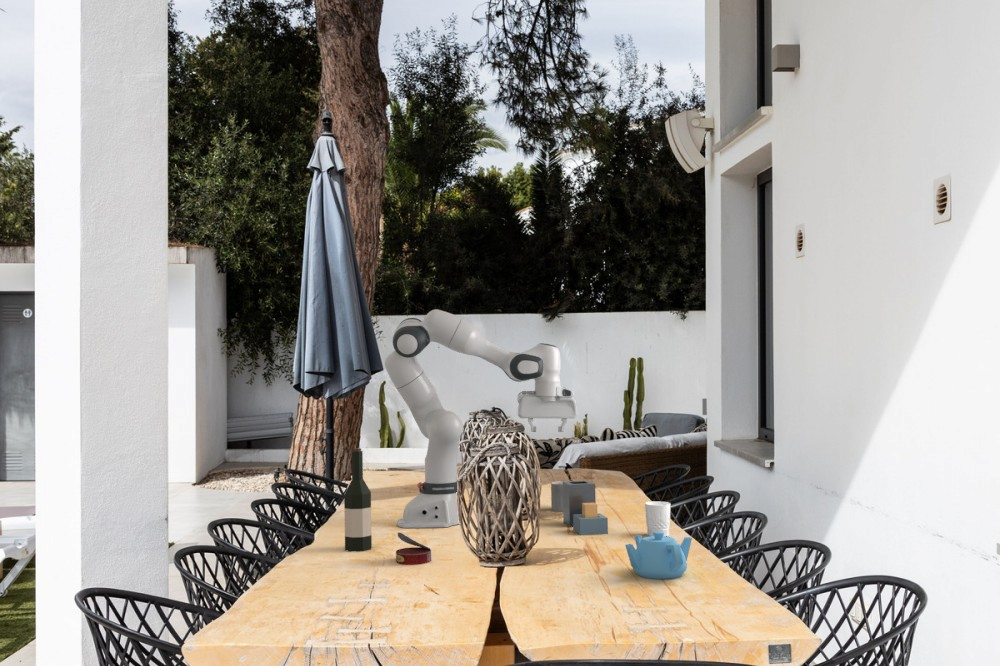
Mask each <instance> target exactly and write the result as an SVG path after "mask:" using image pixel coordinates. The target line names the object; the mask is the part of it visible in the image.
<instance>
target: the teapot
mask: <svg viewBox="0 0 1000 666" xmlns="http://www.w3.org/2000/svg"><path fill="white" fill-rule="evenodd" d="M653 535H654V536H645V537H643V536H642V535H634V541H635V545H636V548H635V546H634V544H632V543H627V544H625V549H626V552H627V556H628V558H629V559H628V560H629V562H630V566H631V568H632V570H633V571H634V572H635V574H636V575H637V576H639V577H642V578H645V579H652V580H653V579H654V580H669V579H676V578H680V577H682V575H683V574H684V573H685V572H686V571H687V568H688V566H687V564H688V563H687V561H688V557H689V553H690V548H691V544H692V540H693V538H692V537H690V536H686V537H685V536H684V538H683V540H682V542H681V544H679V543H678V542H677V540H676V539H675V538H673V537H672V536H667V537H666V536H664V532H653Z"/></svg>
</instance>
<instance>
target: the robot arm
mask: <svg viewBox="0 0 1000 666" xmlns="http://www.w3.org/2000/svg"><path fill="white" fill-rule="evenodd" d="M432 342H433V343H436V344H439V345H442V346H443V347H445V348H447V349H450V350H452V351H454V352H457V353H461V354H463V355H468V356H474V357H478V358H480V359H482V360H485V361H486V362H488V363H490V364H492V365H494V366H496V367H497V368H499V369H501V370H502V371H503V372H504V374H505V375H506V376H507V377H508V379H510V380H512V381H514V382H518V383H519V382H520V383H522V382H526V381H530V380H534V390H529V391H528V390H523V391H520V392H519V393H518V394H517V402H518V407H517V416H518V417H519V418H520V419H527V422H528V424H529V426H530V432H532V433H536V432H537V426H535V425H534V424H533V422H534V419H561V424H560V426H557V432H558V433H563V432H564V427H565V426H566V424H567V420H568V419H576V418H577V416H578V406H577V401H576V399H575V398H574V396H575V390H572V389H569V388H567V387H562V386H561V385H562V382H561V378H560V377H561V375H560V374H561V371H562V359H561V352H560V349H559V348H558V347H557V346H556V345H554V344H549V343H541V342H540V343H537V344H536V345H535V346H534V347H532V348H530V349H527V350H525V351H523V352H511V351H507V350H506V349H504V348H502V347H499V346H498V345H496V344H494V343H492V342H491V341H489V340H488V339H486V337H484V335H482V333H481V331H480V330H479V328H477V327H476V326H475V325H473V324H472V323H471V322H469V321H467V320H466V319H464V318H462V317H459V316H457V315H456V314H453V313H451V312H447V311H444V310H441V309H432V310H430V311H429V312H428V313H427V314H426V315H425V317H424V319H423V320H422V319H419V318H416V317H408V318H405V319H404V320H402V321H401V322H400V323H399V324H398V326H397V327H396V329H395V330H394V334H393V336H392V346H393V349H394V350H393V351H392V352H390V354H388V355H387V357H386V358H385V361H384V367H385V370H386V372H387V375H388V376H389V379H390V380H391V382H392V384H393V385H394V387H395V389H396V390H397V392H398V393H399V395H400V397H401V398H402V400H403V401H404V402H405V404H406V405H407V407H408V409H409V410H410V413H411V415H412V417H413V419H414V422H416V423H415V424H416V425H417V427H418V429H419V431H420V433H421V434H422V435H423V436H424V437H425V438H426V439H428V446H427V452H426V456H425V457H424V482H420V481H419V482H418V483H417V485H416V486H417V488H418V490H419V493H418V494H417V495H416V496H415V497H414V498H412V499H411V500H410V501H409V502H407V504H406V505H405V506H404V508H403V512H402V513H403V514H402V518H400V519H397V520H396V526H397V527H400V528H403V529H417V528H418V529H421V528H430V529H431V528H432V529H433V528H448V527H452V526H457V525H460V524H459V522H458V515H457V501H456V492H457V481H458V453H459V447H460V440H461V435H462V434H463V429H464V424H463V421H462V420H461V418H460V416H459V415H457V413H455V412H454V411H451V410H446V409H445V407H444V406H443V404H442V403H441V400H440V398H439V397H438V394H437V389H436V388H435V386H434V385H433V384H432V383H433V382H431V380H430V379H429V377H428V375H427V374H426V373H425V371H424V369H423V368H422V366H421V365H420V364H419V362H418V359H417V356H418V355H419V354H421V352H423V351H424V349H425V348H427V347H428V345H429V344H430V343H432Z"/></svg>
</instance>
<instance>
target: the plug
mask: <svg viewBox="0 0 1000 666" xmlns="http://www.w3.org/2000/svg"><path fill="white" fill-rule="evenodd" d="M582 517H583V518H595V517H598V504H597V503H582Z"/></svg>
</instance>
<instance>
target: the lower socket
mask: <svg viewBox="0 0 1000 666" xmlns="http://www.w3.org/2000/svg"><path fill="white" fill-rule="evenodd" d="M597 513H598V512H597ZM608 523H609V521H608V517H607V516H605V515H603V514H601V512H600V513H598V517H595V518H583V517H582V514H576V515H573V527H572V528H573V532H575V533H577V534H578V535H580V536H587V535H588V536H591V535H608V534H609V526H608V525H609V524H608Z"/></svg>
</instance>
